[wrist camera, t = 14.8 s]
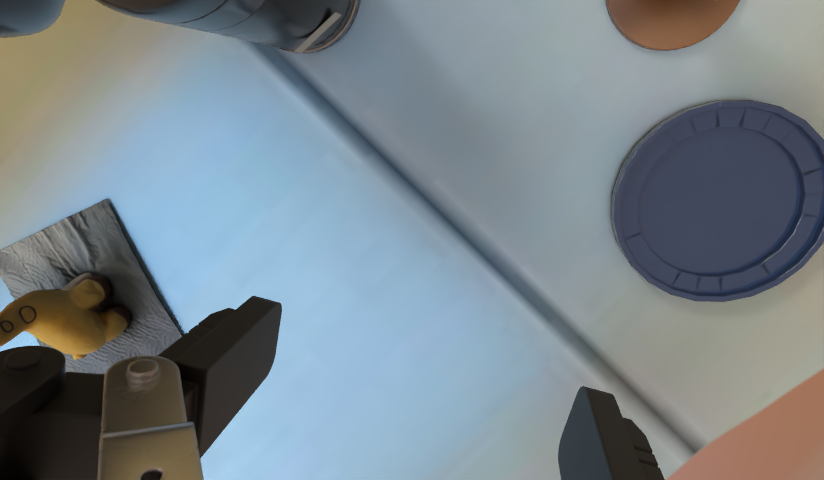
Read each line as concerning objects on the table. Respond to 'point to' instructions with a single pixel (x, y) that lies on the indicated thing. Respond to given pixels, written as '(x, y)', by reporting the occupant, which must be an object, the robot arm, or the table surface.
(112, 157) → the table surface
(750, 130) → the plate
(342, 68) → the table surface
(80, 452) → the robot arm
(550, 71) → the table surface
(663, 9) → the coaster
